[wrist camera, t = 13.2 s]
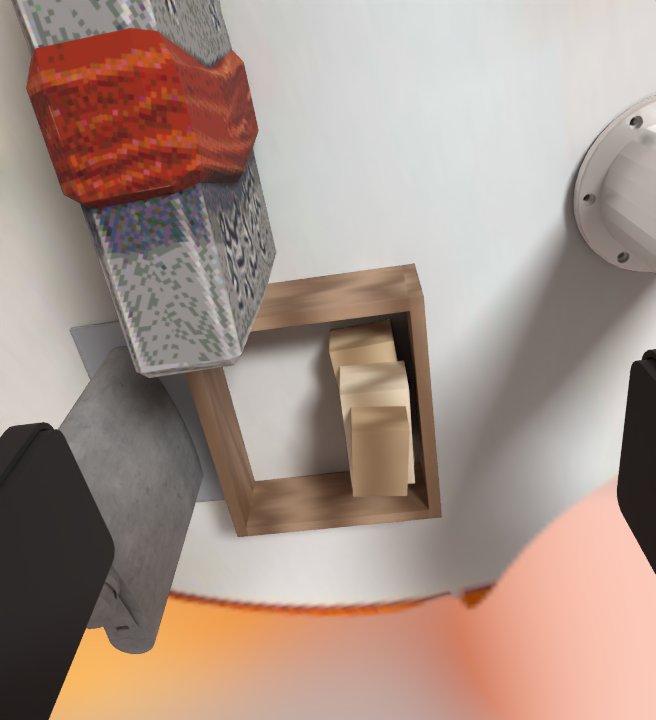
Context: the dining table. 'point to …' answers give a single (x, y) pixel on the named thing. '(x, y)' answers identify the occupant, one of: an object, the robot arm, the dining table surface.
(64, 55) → the decorative stone tablet
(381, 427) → the offcut top
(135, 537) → the hip flask
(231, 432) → the wooden tray
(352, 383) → the offcut mid
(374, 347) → the offcut base
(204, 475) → the felt pad
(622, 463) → the robot arm
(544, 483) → the dining table surface
